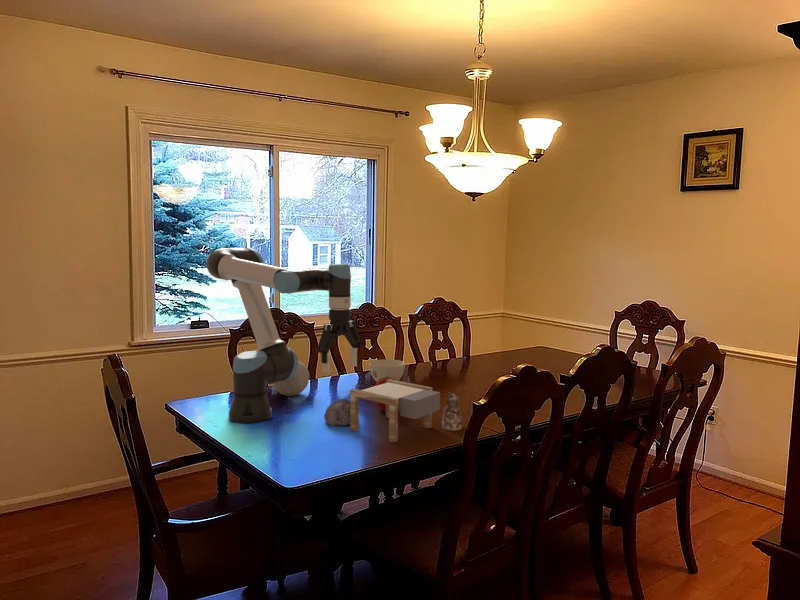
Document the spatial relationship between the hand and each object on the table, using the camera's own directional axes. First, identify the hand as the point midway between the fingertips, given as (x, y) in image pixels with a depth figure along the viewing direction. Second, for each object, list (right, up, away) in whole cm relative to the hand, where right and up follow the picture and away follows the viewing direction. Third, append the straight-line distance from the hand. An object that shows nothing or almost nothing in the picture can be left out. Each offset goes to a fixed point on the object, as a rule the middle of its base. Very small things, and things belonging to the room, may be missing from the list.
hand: (340, 369), depth 217 cm
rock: (0, -20, +2) cm, 20 cm away
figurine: (+39, -20, -1) cm, 44 cm away
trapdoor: (+21, -12, -6) cm, 25 cm away
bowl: (+15, -14, +57) cm, 61 cm away
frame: (+18, -20, -3) cm, 27 cm away
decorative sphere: (-24, -15, +38) cm, 48 cm away
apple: (+16, -18, +18) cm, 30 cm away
